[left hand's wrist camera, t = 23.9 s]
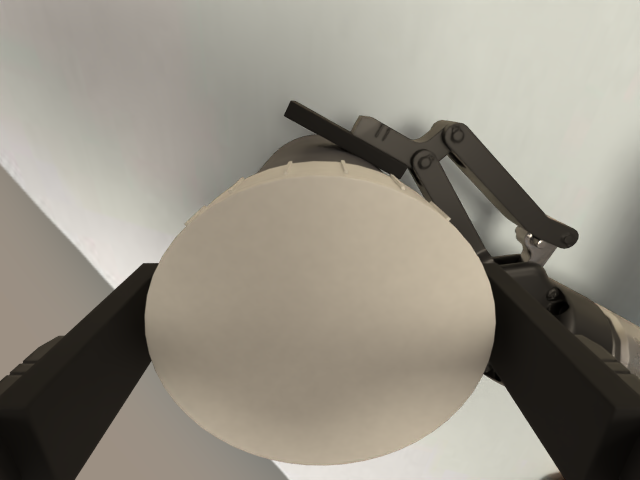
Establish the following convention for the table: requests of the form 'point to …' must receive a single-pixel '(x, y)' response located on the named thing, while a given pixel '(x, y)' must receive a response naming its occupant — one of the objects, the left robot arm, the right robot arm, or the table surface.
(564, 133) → the table surface
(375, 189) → the lid
